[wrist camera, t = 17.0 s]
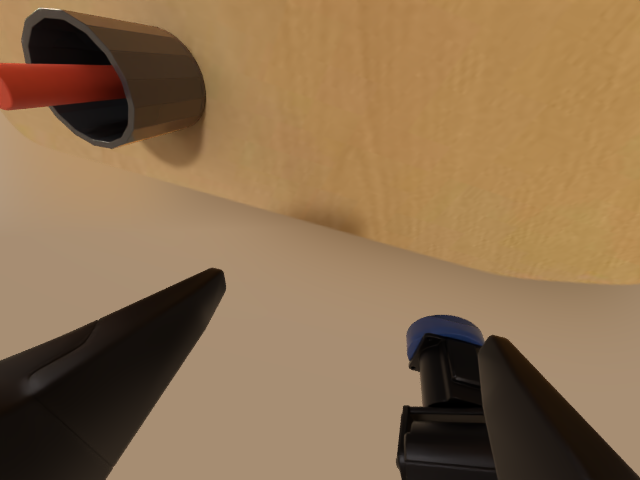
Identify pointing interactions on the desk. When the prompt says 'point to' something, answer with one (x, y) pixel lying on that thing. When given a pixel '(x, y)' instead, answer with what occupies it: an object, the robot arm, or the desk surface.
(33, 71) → the straw
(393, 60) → the desk surface
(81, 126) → the tin
